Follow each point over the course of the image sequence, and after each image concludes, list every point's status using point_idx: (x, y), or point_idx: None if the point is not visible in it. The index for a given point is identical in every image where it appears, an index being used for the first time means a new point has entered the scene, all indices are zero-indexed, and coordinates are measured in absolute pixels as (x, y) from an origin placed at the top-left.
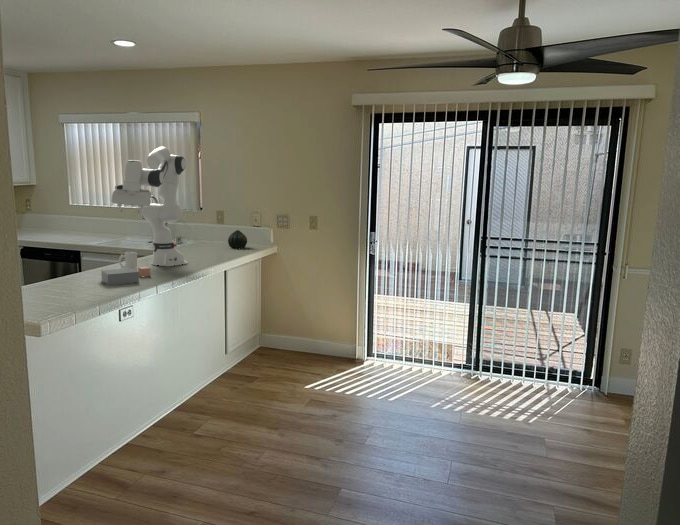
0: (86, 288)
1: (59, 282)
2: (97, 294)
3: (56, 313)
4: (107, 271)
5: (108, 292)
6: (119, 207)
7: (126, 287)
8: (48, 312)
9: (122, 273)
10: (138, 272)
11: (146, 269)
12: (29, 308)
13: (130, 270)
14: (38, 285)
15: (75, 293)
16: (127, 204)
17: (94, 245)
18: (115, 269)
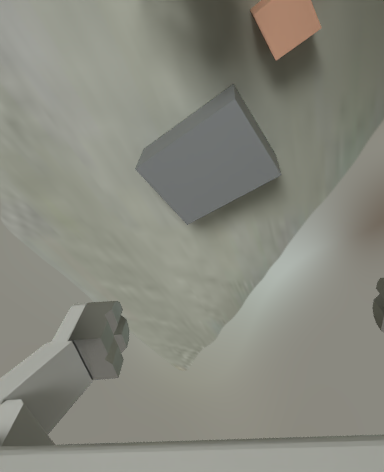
0: (149, 233)
1: (35, 181)
2: (201, 274)
3: (187, 350)
4: (166, 184)
5: (218, 260)
6: (56, 407)
7: (249, 216)
8: (174, 347)
9: (227, 202)
10: (280, 173)
11: (300, 40)
12: (136, 336)
13: (244, 156)
14: (16, 217)
15: (151, 270)
16: (149, 458)
17: None
18: (178, 146)
